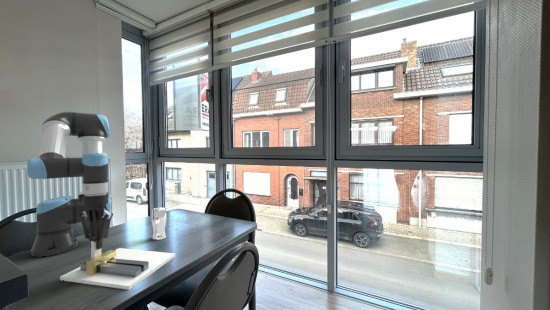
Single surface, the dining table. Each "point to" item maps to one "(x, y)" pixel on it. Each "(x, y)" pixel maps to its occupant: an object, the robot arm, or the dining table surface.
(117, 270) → the fixed jaw
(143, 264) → the moving jaw
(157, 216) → the beer glass
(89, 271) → the collar
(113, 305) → the dining table surface
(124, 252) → the board
